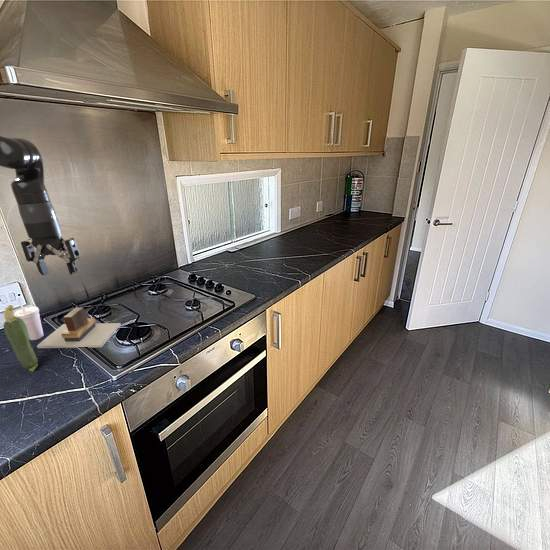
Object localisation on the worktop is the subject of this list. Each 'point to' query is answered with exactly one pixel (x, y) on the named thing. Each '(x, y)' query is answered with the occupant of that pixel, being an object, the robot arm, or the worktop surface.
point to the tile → (91, 340)
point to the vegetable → (19, 339)
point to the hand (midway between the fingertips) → (59, 273)
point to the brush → (77, 325)
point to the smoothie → (31, 320)
